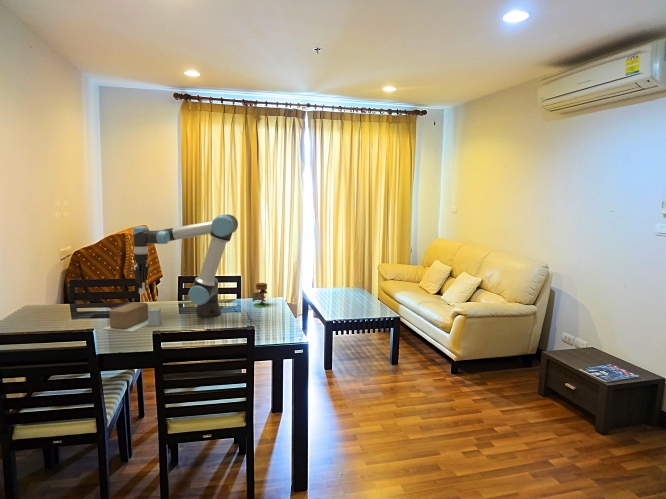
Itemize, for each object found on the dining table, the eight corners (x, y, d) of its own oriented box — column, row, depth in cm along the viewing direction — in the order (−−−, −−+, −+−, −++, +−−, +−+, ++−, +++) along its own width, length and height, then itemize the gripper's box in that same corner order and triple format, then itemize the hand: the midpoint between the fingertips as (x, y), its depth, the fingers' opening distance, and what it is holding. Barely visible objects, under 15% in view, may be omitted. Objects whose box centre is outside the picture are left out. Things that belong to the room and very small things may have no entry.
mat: (154, 321, 243) (154, 320, 243) (132, 331, 223) (132, 330, 223) (126, 319, 246) (126, 318, 246) (102, 329, 226) (102, 328, 226)
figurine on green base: (274, 304, 288) (274, 283, 287) (263, 308, 277) (264, 286, 275) (259, 302, 293) (259, 281, 291) (249, 306, 282) (249, 284, 280)
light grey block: (161, 323, 239) (160, 308, 238) (157, 326, 234) (157, 310, 233) (152, 323, 239) (152, 308, 238) (148, 326, 234) (148, 310, 233)
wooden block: (149, 319, 244) (125, 329, 225) (134, 318, 246) (109, 328, 227) (148, 302, 243) (124, 311, 224) (133, 301, 245) (108, 310, 226)
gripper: (142, 251, 249) (143, 290, 251) (127, 254, 236) (128, 295, 239) (153, 252, 247) (154, 291, 250) (139, 255, 235) (140, 296, 237)
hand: (141, 293), depth 244 cm, fingers closed
